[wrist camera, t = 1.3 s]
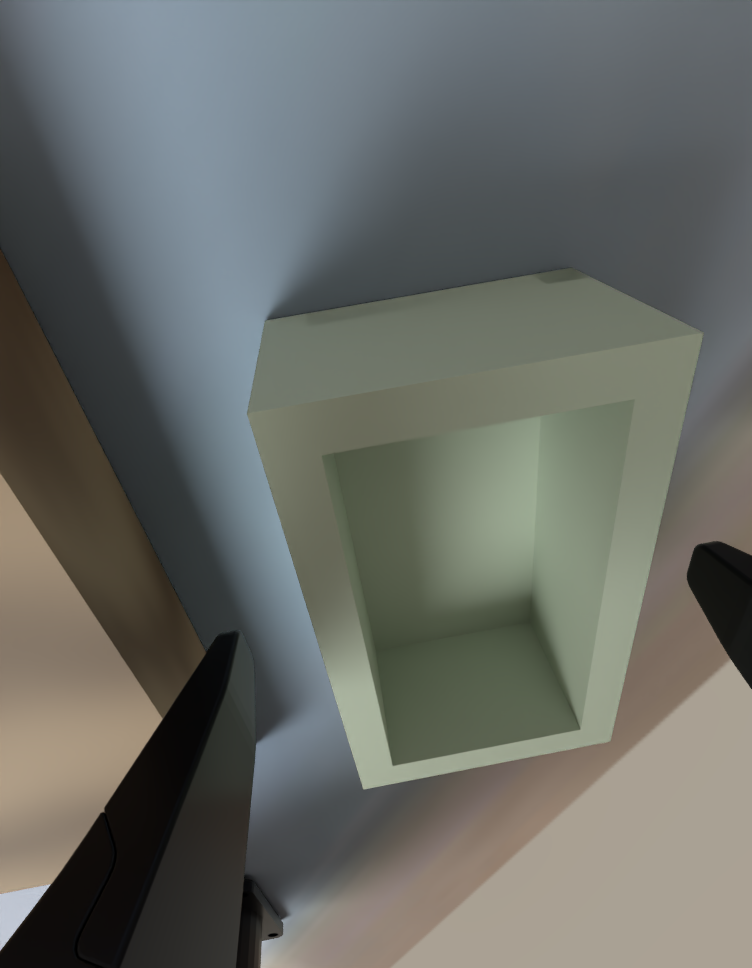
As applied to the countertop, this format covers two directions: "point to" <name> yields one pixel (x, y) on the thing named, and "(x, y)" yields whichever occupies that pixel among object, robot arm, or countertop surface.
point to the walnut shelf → (70, 613)
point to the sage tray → (473, 507)
